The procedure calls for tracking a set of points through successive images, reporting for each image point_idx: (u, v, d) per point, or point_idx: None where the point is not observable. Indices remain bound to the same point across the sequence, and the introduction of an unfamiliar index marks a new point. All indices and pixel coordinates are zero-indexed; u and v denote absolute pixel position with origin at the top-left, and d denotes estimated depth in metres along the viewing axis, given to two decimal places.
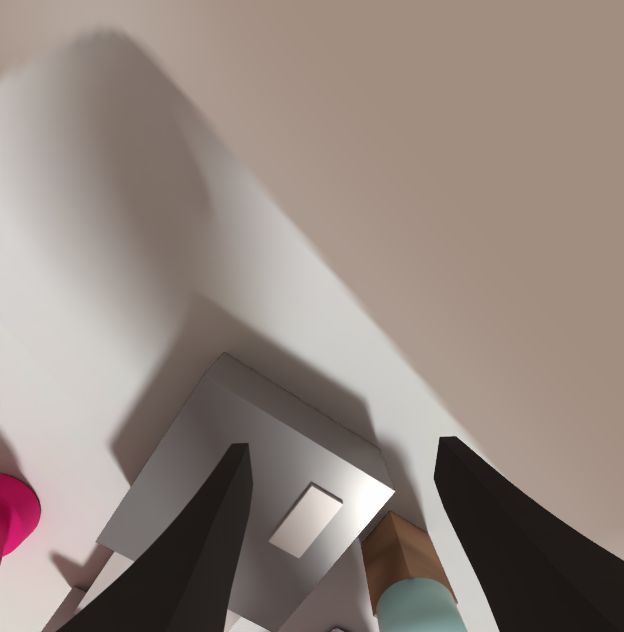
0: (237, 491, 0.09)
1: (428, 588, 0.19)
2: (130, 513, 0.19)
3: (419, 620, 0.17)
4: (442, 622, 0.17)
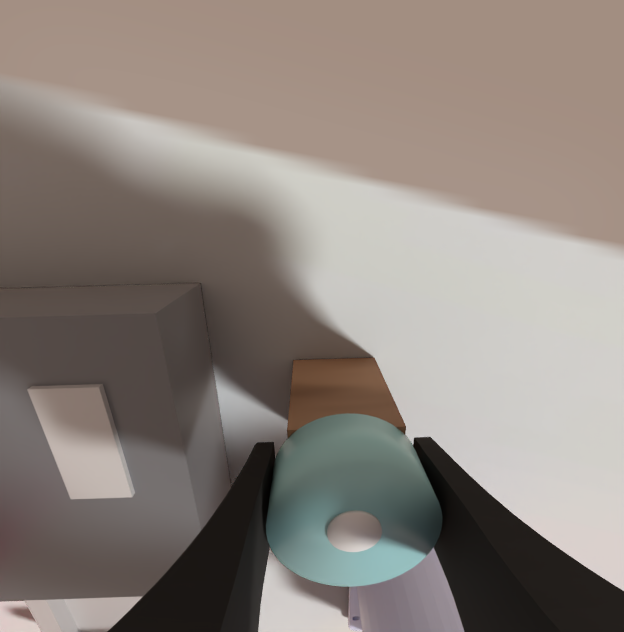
0: (266, 490, 0.09)
1: (313, 434, 0.09)
2: None
3: (295, 497, 0.08)
4: (338, 478, 0.08)
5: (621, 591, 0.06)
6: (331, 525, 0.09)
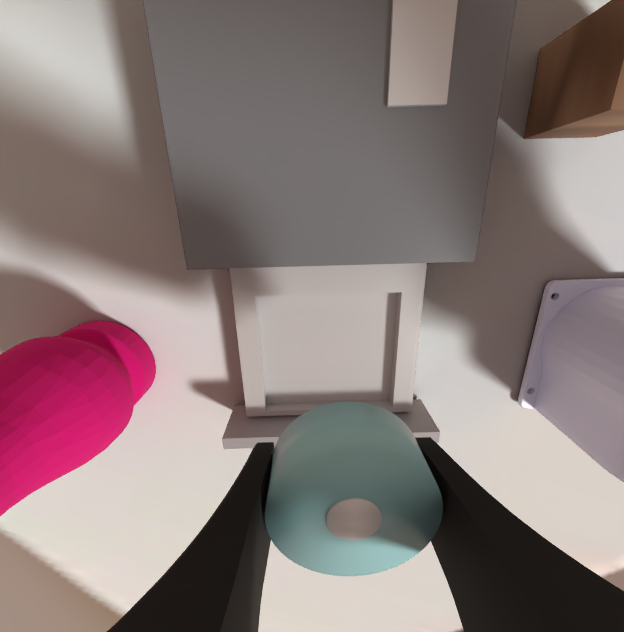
0: (266, 490, 0.09)
1: (320, 419, 0.09)
2: (195, 197, 0.13)
3: (299, 478, 0.08)
4: (346, 462, 0.08)
5: (621, 591, 0.06)
6: (332, 511, 0.09)
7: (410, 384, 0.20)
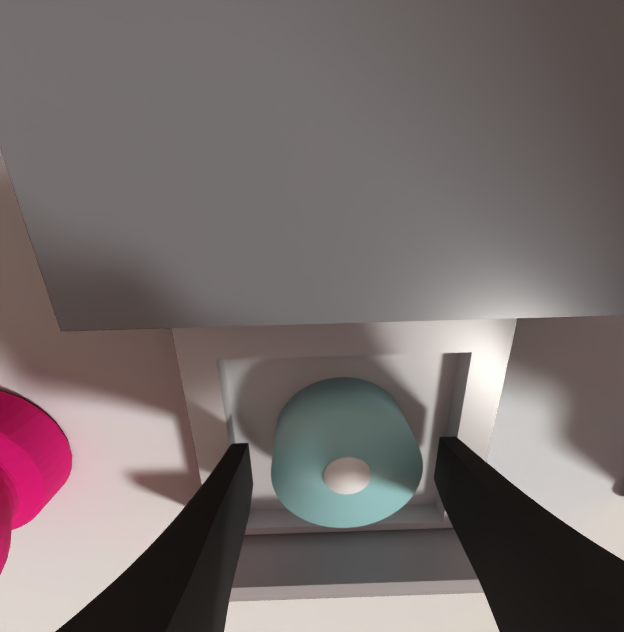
0: (237, 491, 0.09)
1: (318, 391, 0.11)
2: (55, 179, 0.06)
3: (300, 439, 0.10)
4: (340, 425, 0.09)
5: None
6: (328, 468, 0.10)
7: None
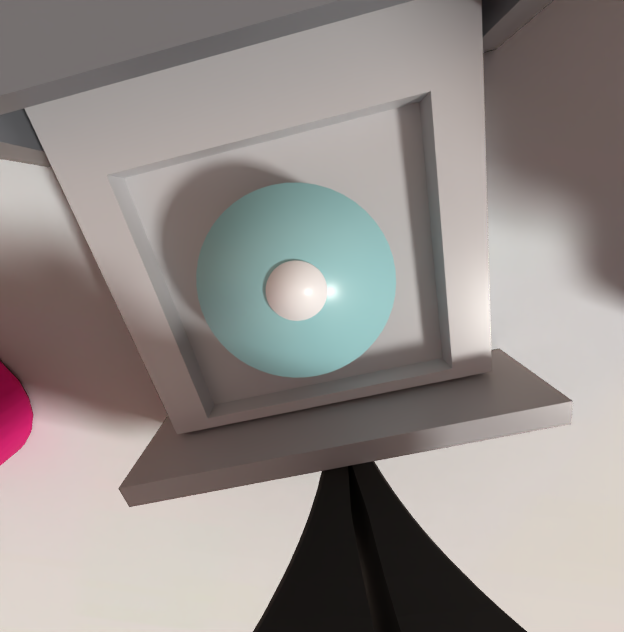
0: None
1: None
2: None
3: (218, 252, 0.07)
4: (258, 214, 0.07)
5: (483, 596, 0.05)
6: (270, 288, 0.08)
7: (481, 314, 0.09)
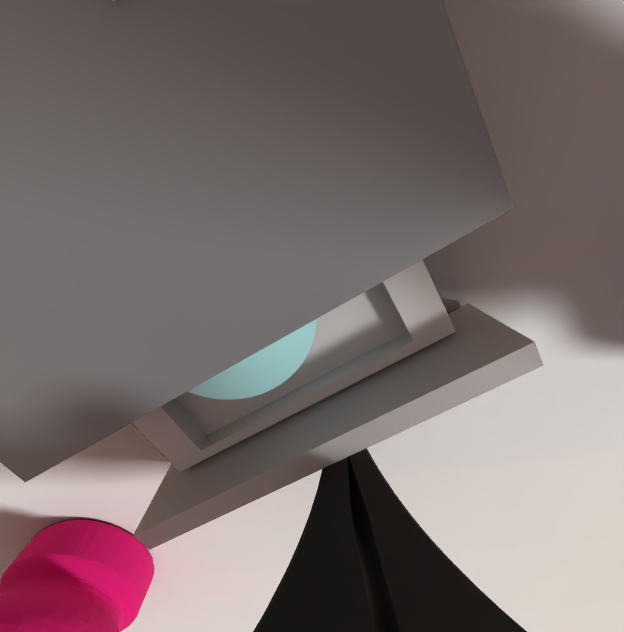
0: None
1: None
2: None
3: None
4: None
5: (483, 596, 0.05)
6: None
7: (421, 279, 0.09)
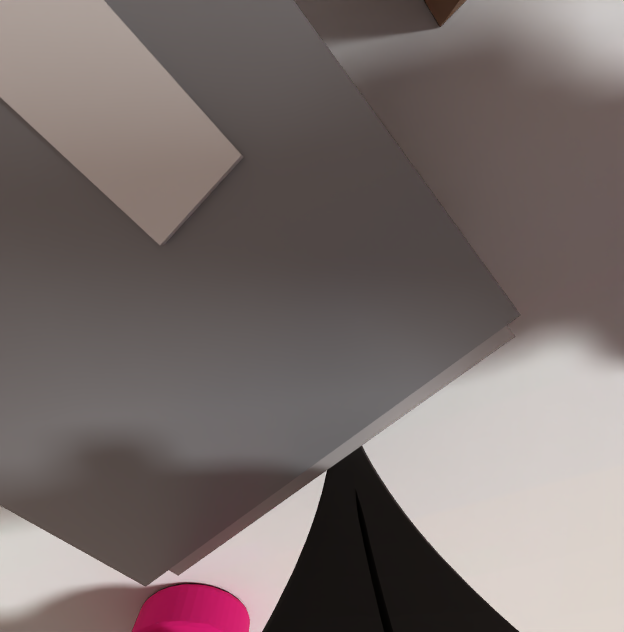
0: None
1: None
2: (74, 523, 0.09)
3: None
4: None
5: (476, 596, 0.05)
6: None
7: None
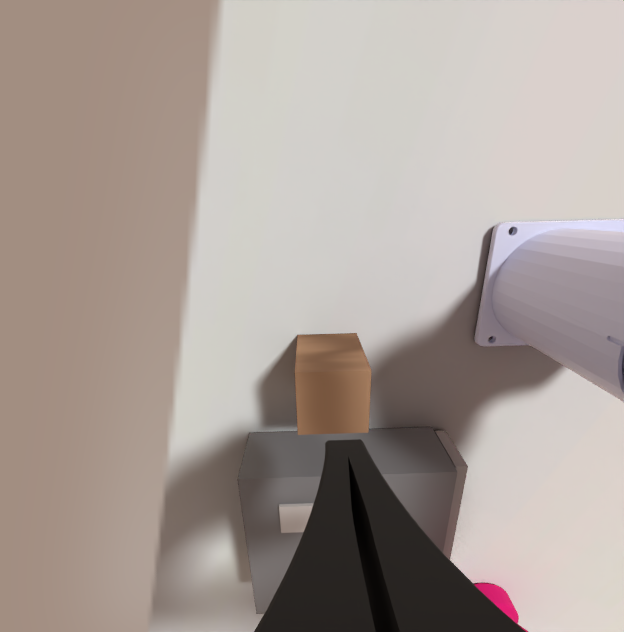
0: None
1: None
2: None
3: None
4: None
5: (482, 596, 0.05)
6: None
7: None
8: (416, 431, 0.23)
